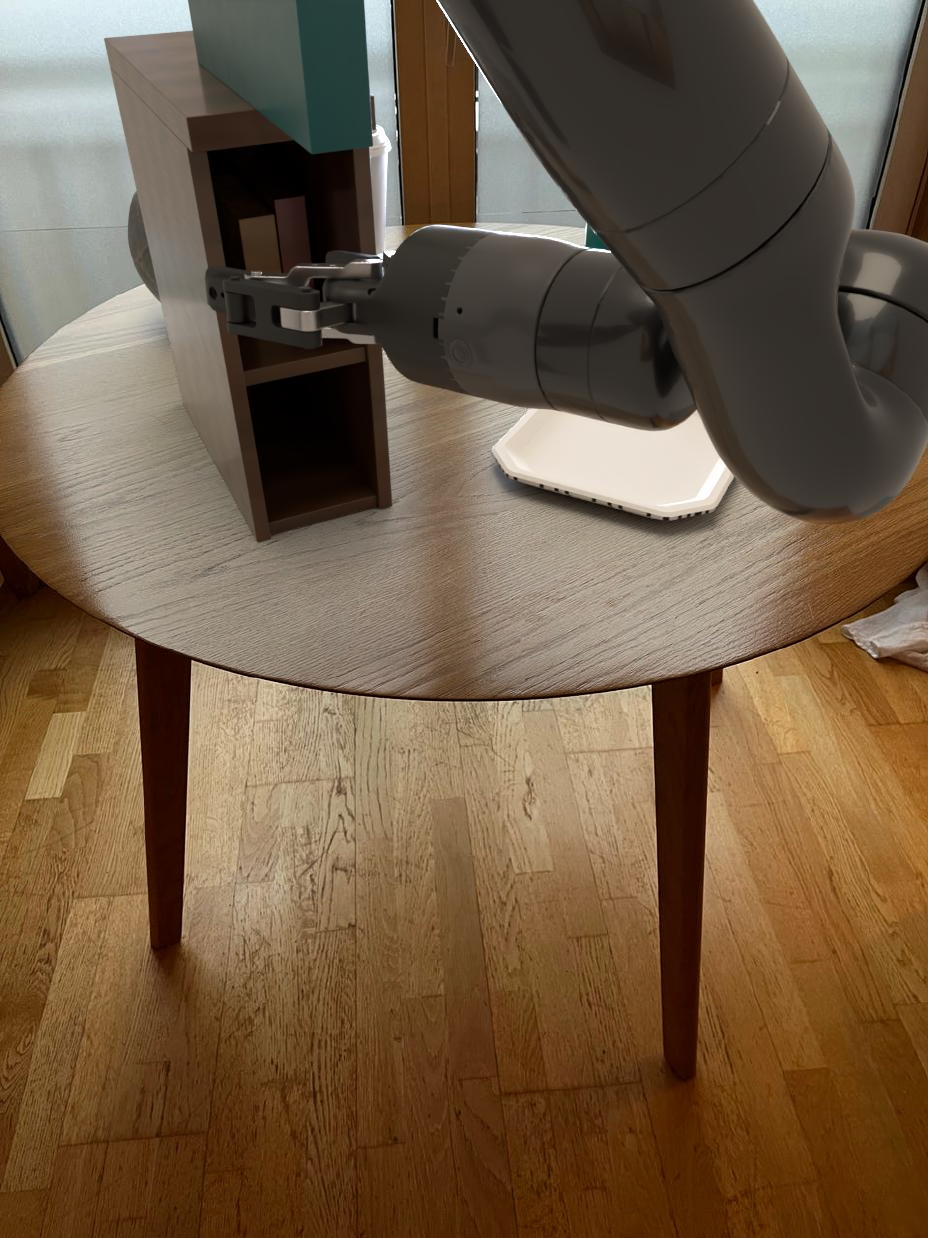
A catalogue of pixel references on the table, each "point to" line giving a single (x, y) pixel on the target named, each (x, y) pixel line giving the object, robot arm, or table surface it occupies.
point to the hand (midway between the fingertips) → (274, 277)
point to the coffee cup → (379, 184)
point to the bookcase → (272, 243)
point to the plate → (617, 463)
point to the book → (293, 64)
